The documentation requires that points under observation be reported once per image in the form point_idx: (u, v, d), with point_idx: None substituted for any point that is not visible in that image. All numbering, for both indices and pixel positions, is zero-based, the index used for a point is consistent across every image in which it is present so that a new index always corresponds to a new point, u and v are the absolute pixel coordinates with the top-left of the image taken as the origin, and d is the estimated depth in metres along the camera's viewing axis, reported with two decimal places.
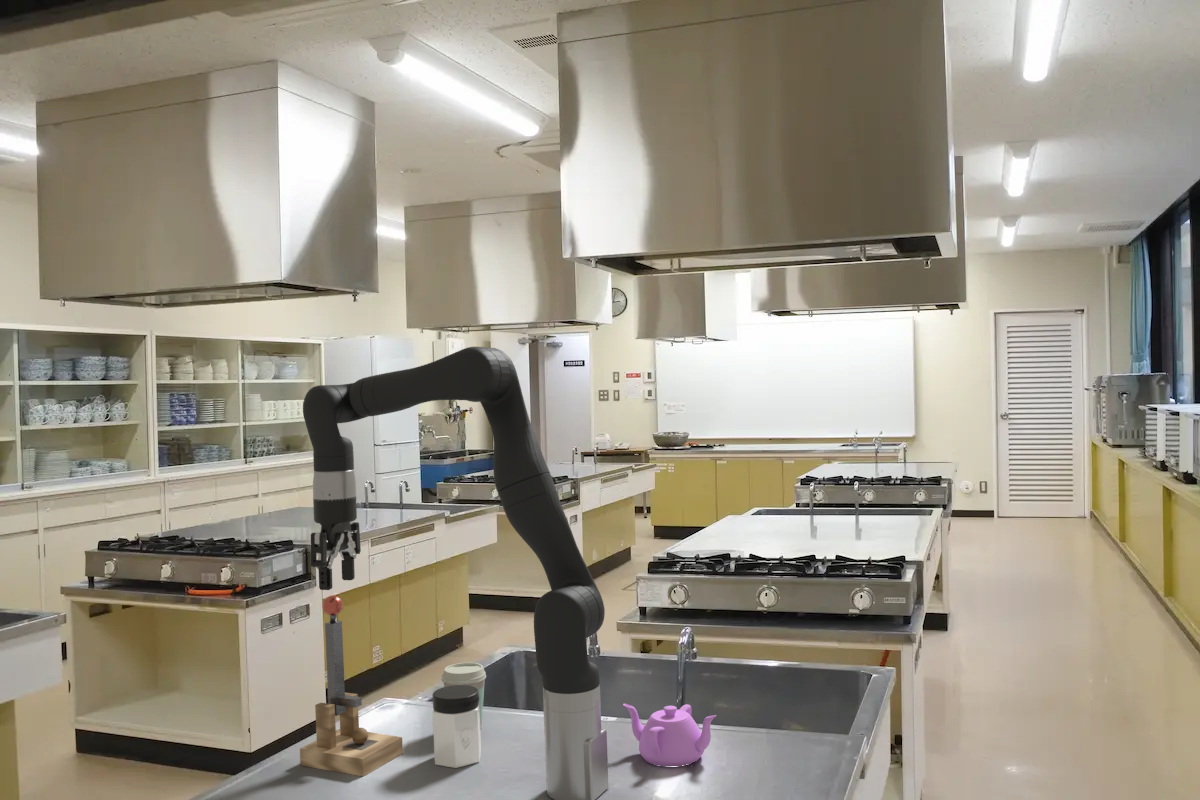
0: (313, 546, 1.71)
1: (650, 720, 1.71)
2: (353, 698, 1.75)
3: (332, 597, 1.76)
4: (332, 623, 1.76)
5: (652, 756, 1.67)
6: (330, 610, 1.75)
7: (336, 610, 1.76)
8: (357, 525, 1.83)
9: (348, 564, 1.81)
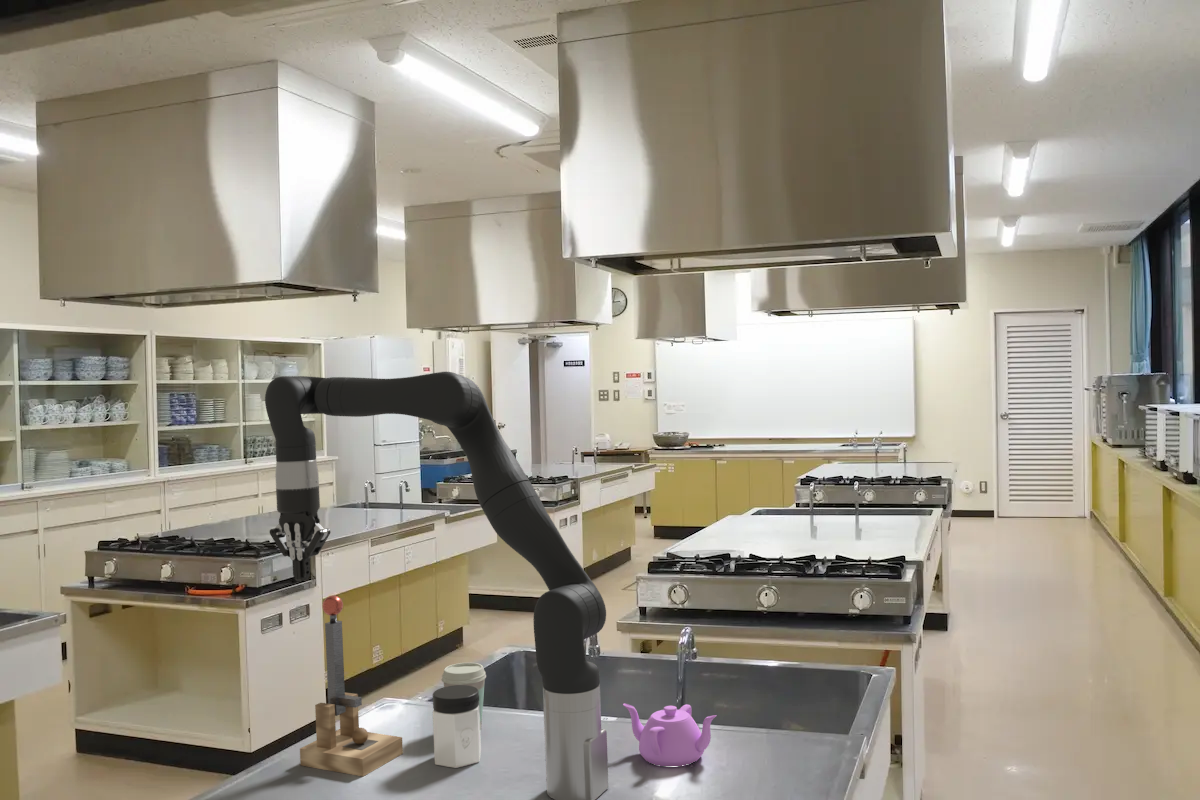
0: (318, 542, 1.77)
1: (650, 720, 1.71)
2: (353, 698, 1.75)
3: (332, 597, 1.76)
4: (332, 623, 1.76)
5: (652, 756, 1.67)
6: (330, 610, 1.75)
7: (336, 610, 1.76)
8: None
9: None
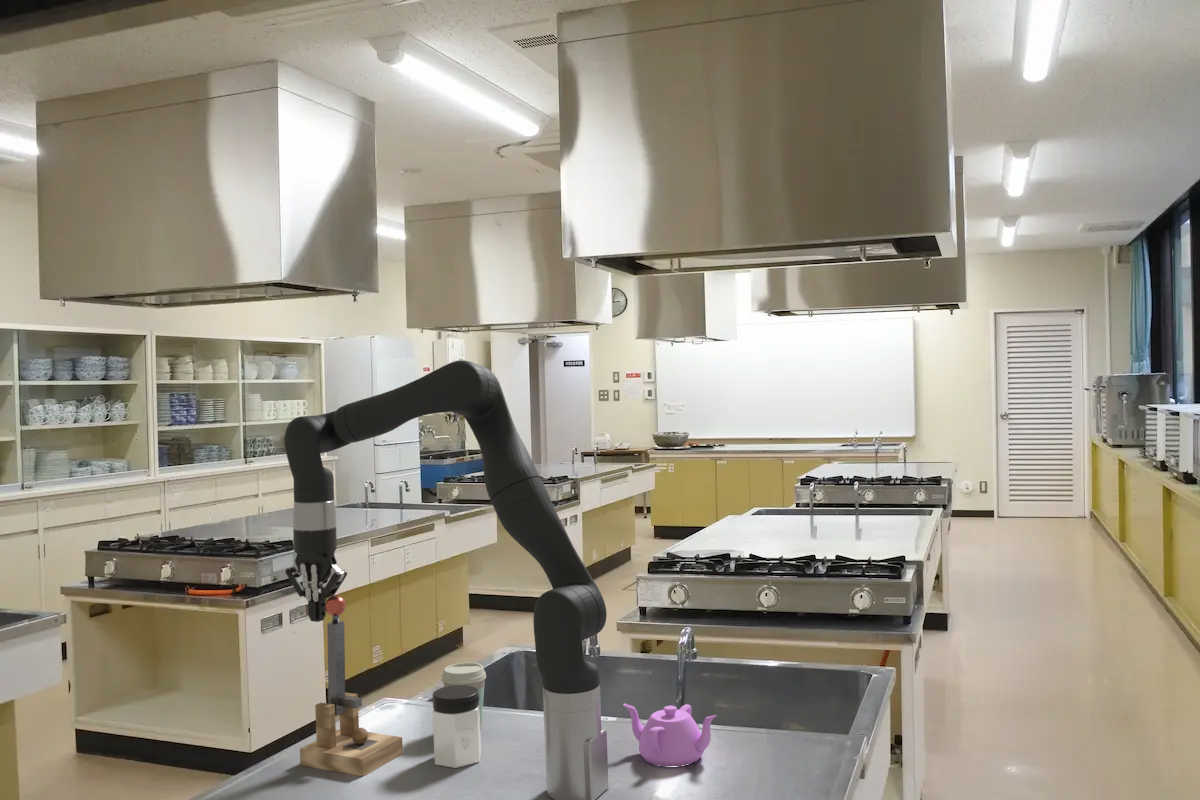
0: (335, 584, 1.76)
1: (650, 720, 1.71)
2: (353, 699, 1.75)
3: (335, 597, 1.76)
4: (334, 623, 1.76)
5: (652, 756, 1.67)
6: (333, 610, 1.75)
7: (339, 611, 1.75)
8: None
9: None
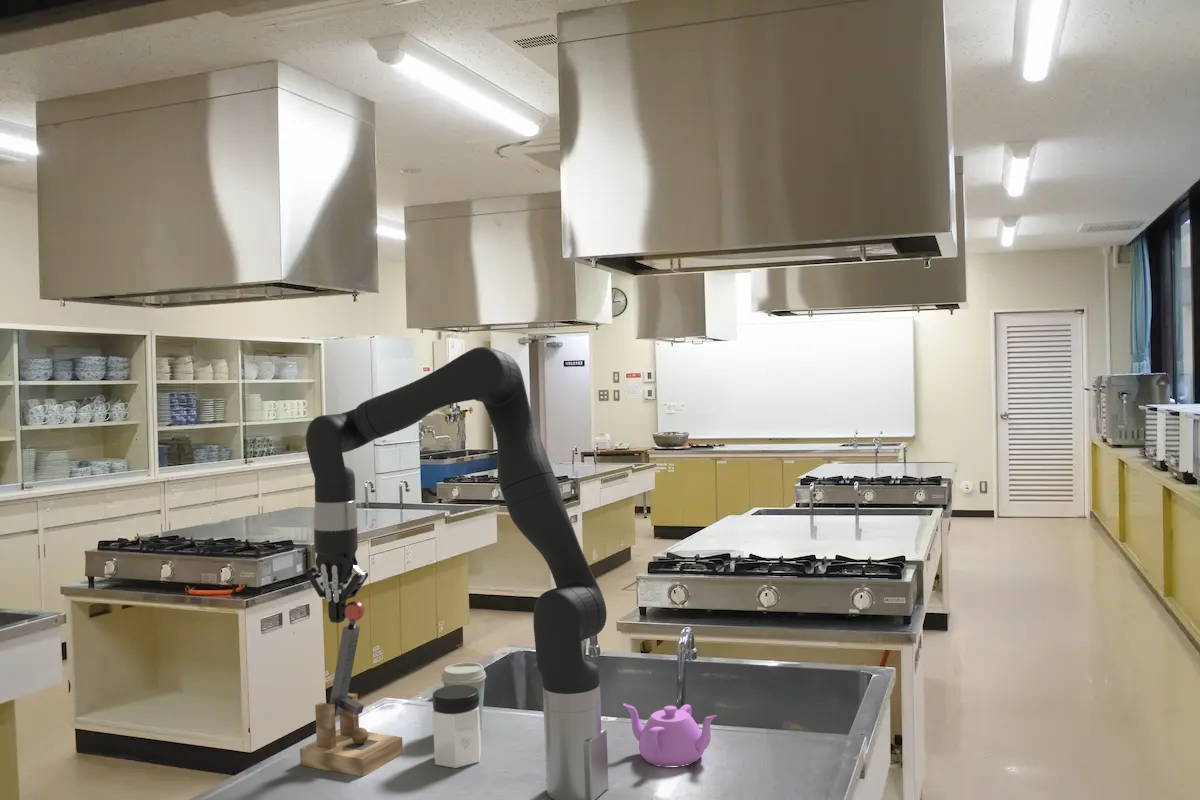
0: (356, 585, 1.74)
1: (650, 720, 1.71)
2: (355, 705, 1.75)
3: (356, 604, 1.74)
4: (350, 629, 1.74)
5: (652, 756, 1.67)
6: (351, 617, 1.73)
7: (357, 618, 1.74)
8: None
9: None
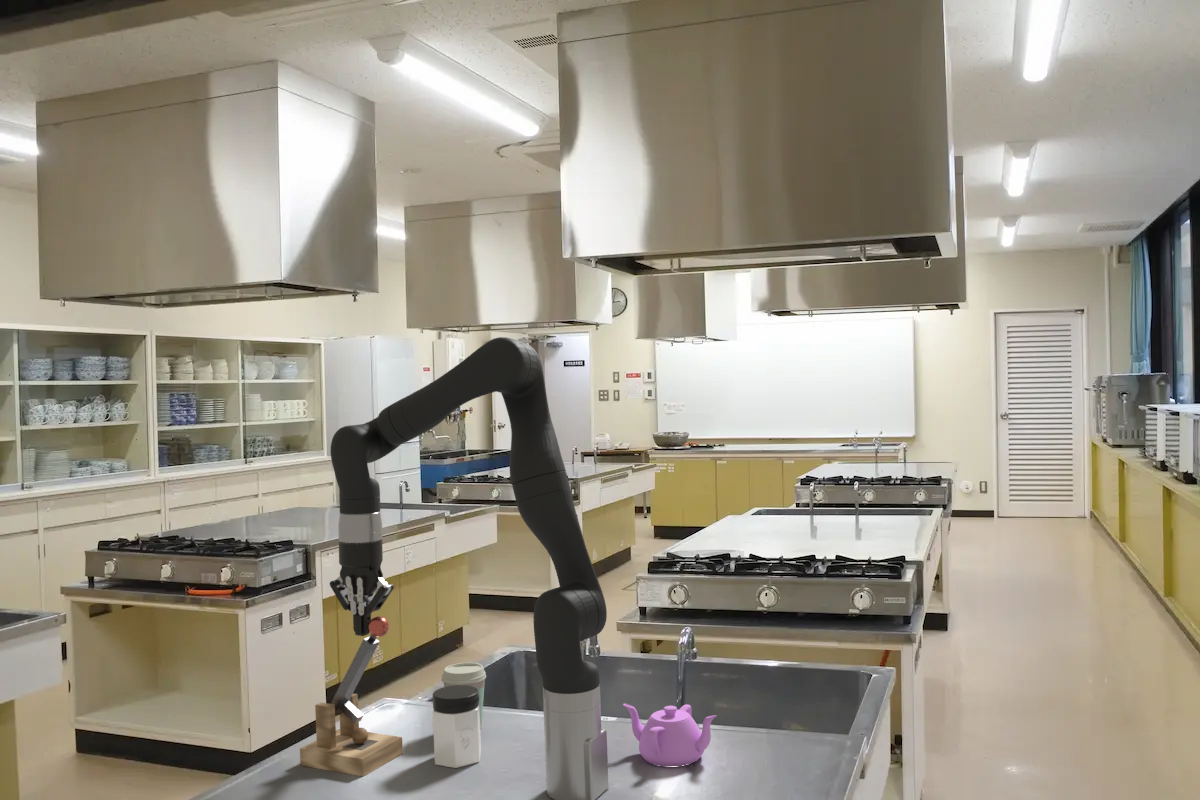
0: (381, 598, 1.71)
1: (650, 720, 1.71)
2: (356, 713, 1.75)
3: (382, 621, 1.71)
4: (370, 643, 1.72)
5: (652, 756, 1.67)
6: (375, 633, 1.71)
7: (380, 635, 1.71)
8: None
9: None
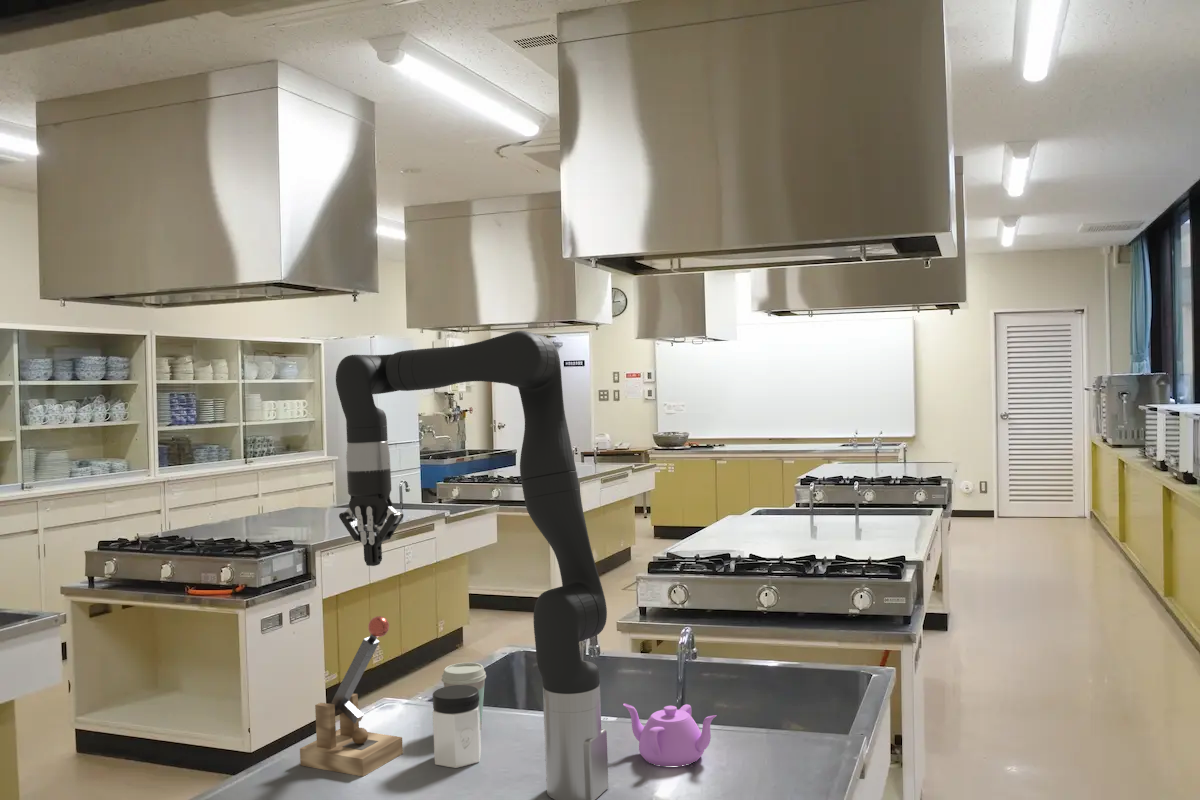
0: (391, 526, 1.71)
1: (650, 720, 1.71)
2: (356, 713, 1.75)
3: (382, 621, 1.71)
4: (370, 643, 1.72)
5: (652, 756, 1.67)
6: (375, 633, 1.71)
7: (380, 635, 1.71)
8: None
9: None
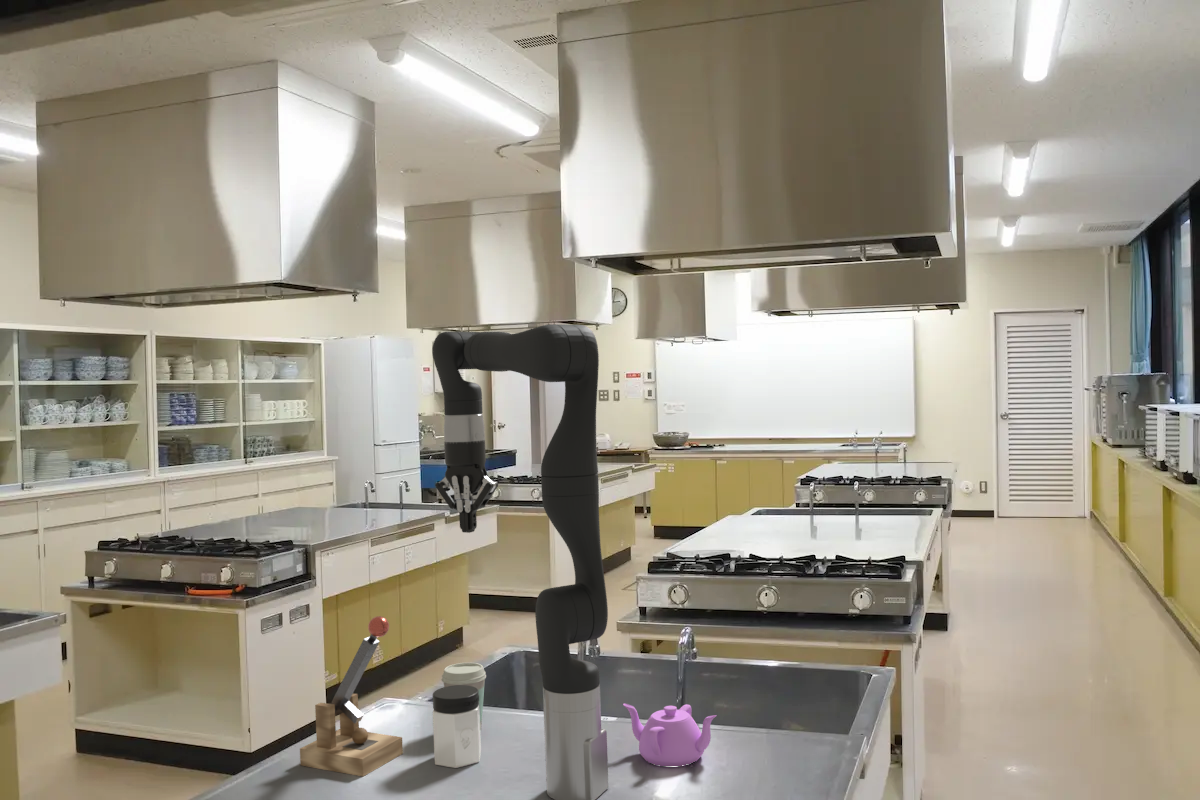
0: (487, 495, 1.80)
1: (650, 720, 1.71)
2: (356, 713, 1.75)
3: (382, 621, 1.71)
4: (370, 643, 1.72)
5: (652, 756, 1.67)
6: (375, 633, 1.71)
7: (380, 635, 1.71)
8: None
9: None
